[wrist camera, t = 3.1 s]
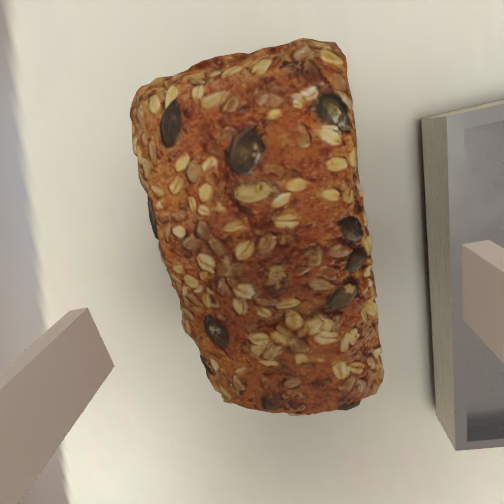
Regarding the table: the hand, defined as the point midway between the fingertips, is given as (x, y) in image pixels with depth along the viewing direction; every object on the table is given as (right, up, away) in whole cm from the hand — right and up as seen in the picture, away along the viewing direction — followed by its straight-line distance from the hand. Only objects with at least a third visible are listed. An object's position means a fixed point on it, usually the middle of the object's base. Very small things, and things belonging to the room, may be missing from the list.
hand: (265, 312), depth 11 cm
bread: (+1, +4, +13) cm, 13 cm away
